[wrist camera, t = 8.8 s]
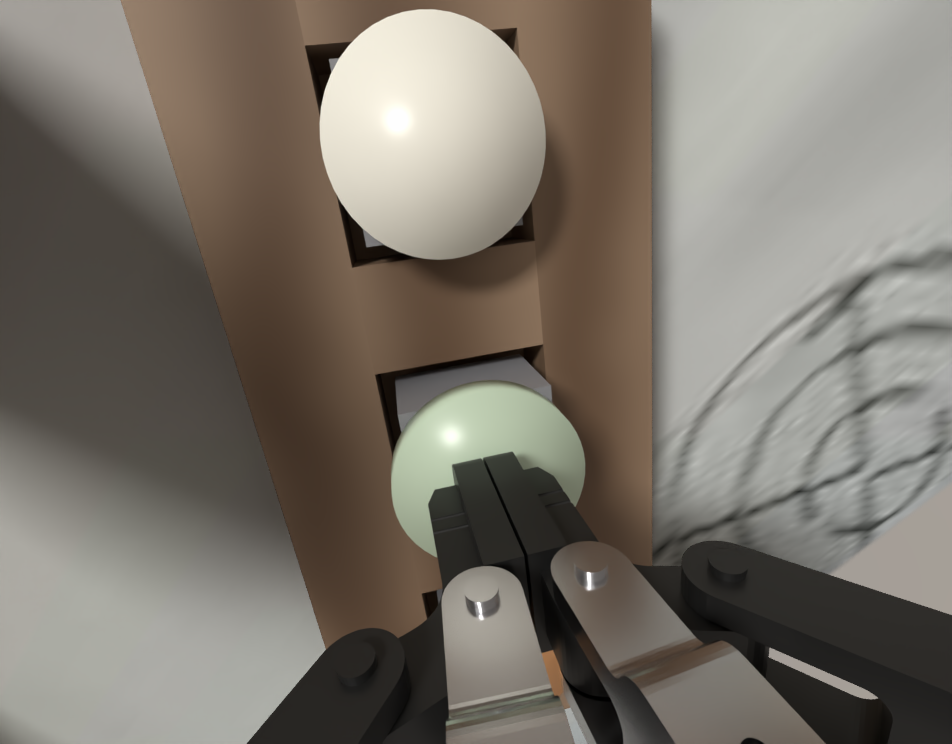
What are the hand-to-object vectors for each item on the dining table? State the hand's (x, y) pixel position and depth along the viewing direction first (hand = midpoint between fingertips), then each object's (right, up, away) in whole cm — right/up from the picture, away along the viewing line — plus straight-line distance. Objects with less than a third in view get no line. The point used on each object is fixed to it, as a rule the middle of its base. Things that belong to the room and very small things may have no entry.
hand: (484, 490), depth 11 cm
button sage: (-1, +1, +4) cm, 4 cm away
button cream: (-2, +9, +3) cm, 10 cm away
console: (-1, +2, +6) cm, 6 cm away
